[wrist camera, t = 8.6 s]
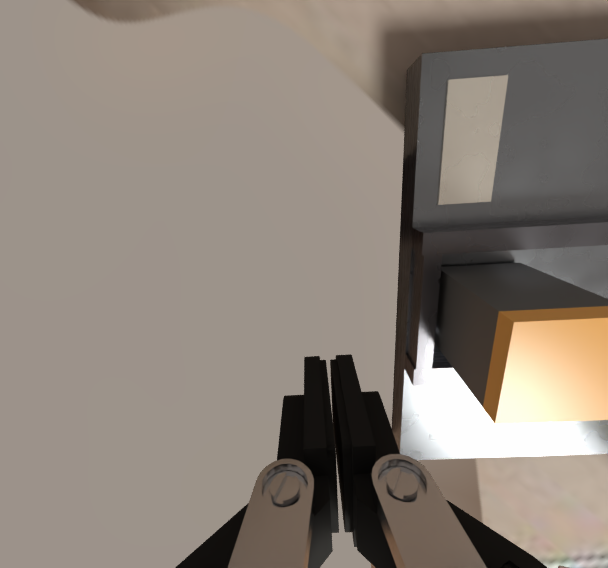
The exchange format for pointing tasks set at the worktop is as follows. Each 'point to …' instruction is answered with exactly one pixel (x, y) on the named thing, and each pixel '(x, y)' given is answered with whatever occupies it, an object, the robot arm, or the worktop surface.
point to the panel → (496, 221)
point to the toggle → (525, 342)
